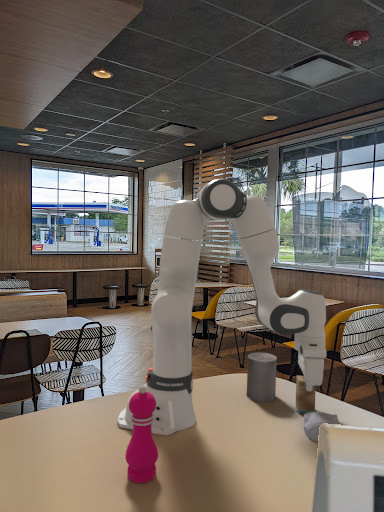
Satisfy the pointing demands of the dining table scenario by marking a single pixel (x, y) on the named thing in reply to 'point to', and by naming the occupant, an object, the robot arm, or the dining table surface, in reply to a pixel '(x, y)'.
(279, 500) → the dining table surface
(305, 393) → the walnut block
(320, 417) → the stone block
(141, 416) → the pepper mill
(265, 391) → the pillar candle
